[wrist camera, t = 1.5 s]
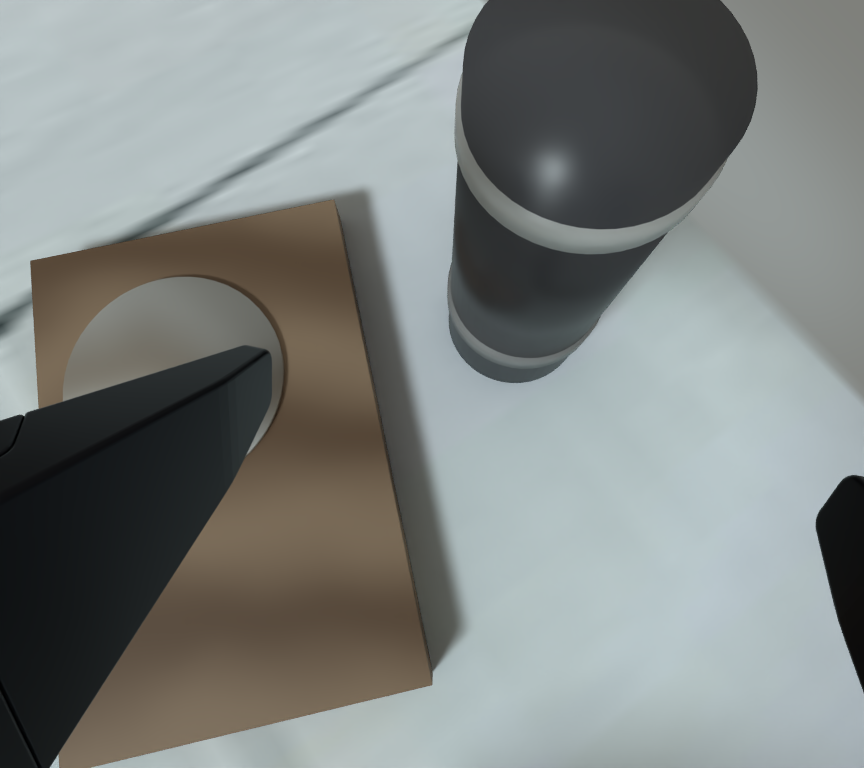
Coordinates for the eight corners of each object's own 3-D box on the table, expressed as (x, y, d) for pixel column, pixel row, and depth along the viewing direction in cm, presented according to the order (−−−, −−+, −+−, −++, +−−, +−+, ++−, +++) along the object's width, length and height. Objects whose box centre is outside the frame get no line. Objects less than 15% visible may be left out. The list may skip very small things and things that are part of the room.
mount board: (432, 672, 20) (432, 686, 18) (88, 755, 19) (55, 777, 17) (340, 219, 24) (333, 196, 22) (55, 277, 23) (26, 258, 22)
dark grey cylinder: (596, 369, 22) (809, 169, 9) (463, 398, 22) (498, 233, 9) (559, 247, 23) (704, -75, 11) (433, 273, 23) (428, -23, 10)
